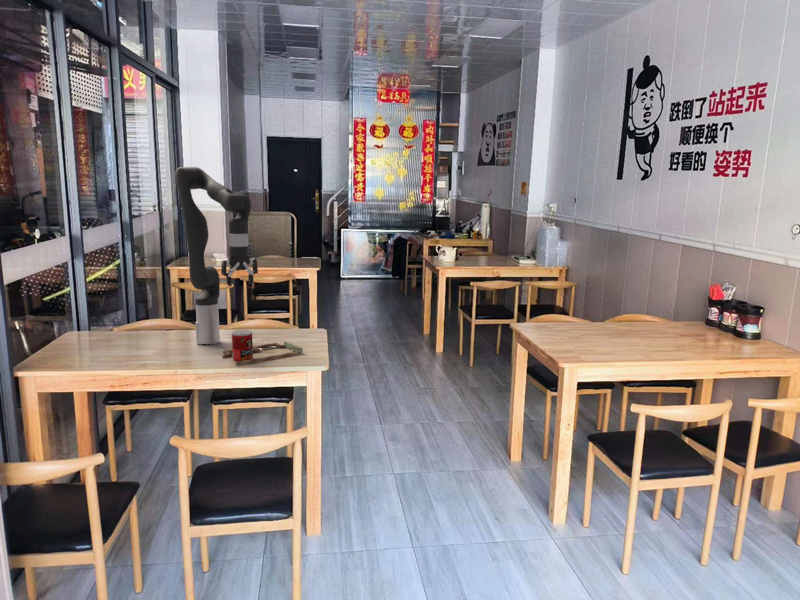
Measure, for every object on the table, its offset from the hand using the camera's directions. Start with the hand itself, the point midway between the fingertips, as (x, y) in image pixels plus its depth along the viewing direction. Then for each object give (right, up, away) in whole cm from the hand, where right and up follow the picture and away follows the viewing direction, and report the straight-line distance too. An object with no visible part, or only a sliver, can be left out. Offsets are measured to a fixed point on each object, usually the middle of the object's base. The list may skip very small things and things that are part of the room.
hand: (240, 285), depth 242 cm
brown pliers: (+8, -28, +2) cm, 29 cm away
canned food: (+2, -30, -5) cm, 30 cm away
